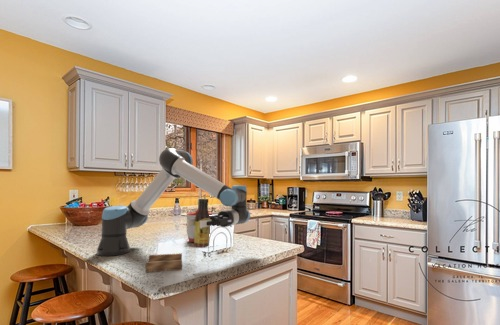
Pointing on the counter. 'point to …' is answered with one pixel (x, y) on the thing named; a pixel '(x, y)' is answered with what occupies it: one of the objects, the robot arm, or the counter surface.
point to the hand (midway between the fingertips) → (194, 223)
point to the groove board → (164, 262)
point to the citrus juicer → (192, 228)
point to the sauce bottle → (203, 233)
